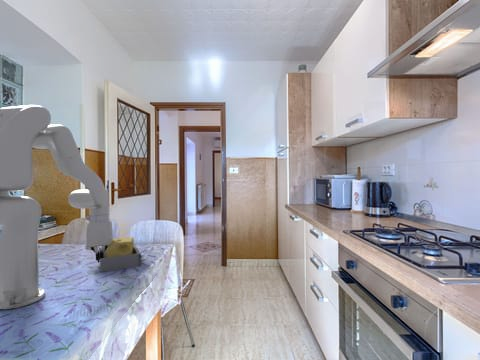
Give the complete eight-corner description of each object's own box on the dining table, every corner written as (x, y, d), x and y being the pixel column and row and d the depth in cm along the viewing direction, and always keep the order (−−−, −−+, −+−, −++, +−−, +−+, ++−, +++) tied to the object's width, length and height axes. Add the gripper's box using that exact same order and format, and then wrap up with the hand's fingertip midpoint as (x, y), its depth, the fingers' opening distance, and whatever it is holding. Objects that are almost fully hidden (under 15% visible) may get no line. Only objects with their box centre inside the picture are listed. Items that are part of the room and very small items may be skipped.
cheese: (105, 267, 112) (105, 243, 112) (110, 260, 123) (110, 237, 123) (132, 265, 115) (132, 241, 115) (135, 258, 125) (134, 236, 125)
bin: (141, 265, 114) (140, 253, 114) (100, 272, 107) (100, 259, 107) (134, 254, 132) (134, 243, 132) (99, 258, 125) (99, 247, 125)
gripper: (78, 221, 109) (78, 266, 109) (119, 218, 116) (119, 261, 116) (79, 218, 115) (79, 262, 115) (117, 216, 122) (118, 257, 122)
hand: (99, 261), depth 116 cm, fingers closed
